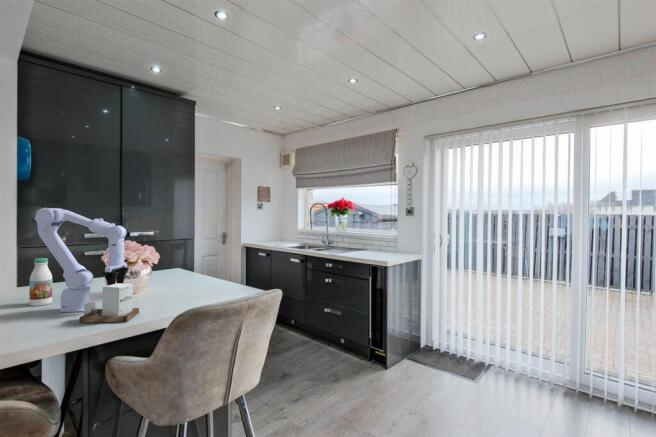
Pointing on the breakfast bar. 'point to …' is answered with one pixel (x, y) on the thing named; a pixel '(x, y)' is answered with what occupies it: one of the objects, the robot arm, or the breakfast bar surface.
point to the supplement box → (117, 299)
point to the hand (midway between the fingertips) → (115, 286)
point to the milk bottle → (40, 284)
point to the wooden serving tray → (92, 312)
